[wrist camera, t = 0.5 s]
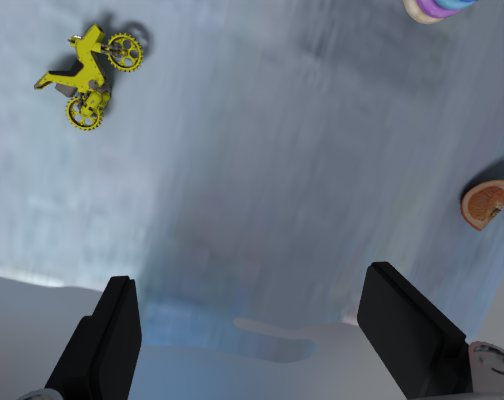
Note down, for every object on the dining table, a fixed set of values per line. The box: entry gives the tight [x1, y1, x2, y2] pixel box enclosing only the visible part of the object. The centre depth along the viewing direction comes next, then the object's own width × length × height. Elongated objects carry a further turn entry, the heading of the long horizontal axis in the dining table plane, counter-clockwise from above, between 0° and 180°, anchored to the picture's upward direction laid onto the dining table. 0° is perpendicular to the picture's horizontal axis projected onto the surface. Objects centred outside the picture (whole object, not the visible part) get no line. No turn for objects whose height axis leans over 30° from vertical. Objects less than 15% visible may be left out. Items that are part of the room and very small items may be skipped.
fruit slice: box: [461, 180, 504, 231], centre depth 45 cm, size 8×7×5 cm
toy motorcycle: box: [34, 24, 144, 131], centre depth 31 cm, size 12×4×7 cm
